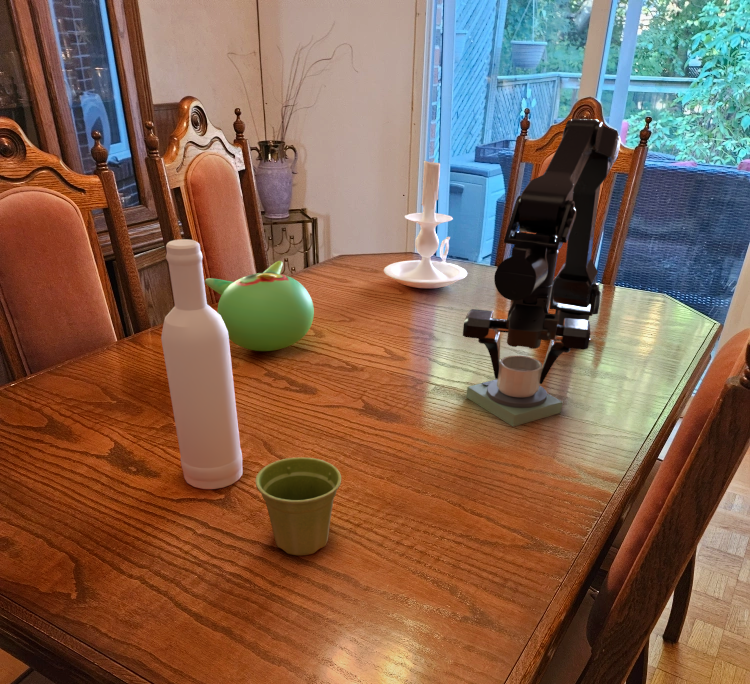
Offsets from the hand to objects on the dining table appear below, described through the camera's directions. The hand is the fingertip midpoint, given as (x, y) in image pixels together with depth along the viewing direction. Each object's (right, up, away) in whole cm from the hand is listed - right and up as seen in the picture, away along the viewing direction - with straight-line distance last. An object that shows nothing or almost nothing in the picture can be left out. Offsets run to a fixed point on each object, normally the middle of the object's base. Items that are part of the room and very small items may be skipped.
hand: (518, 380), depth 107 cm
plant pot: (-32, -24, -28) cm, 49 cm away
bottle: (-45, -16, -17) cm, 50 cm away
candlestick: (-10, +36, +61) cm, 71 cm away
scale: (0, -4, +3) cm, 5 cm away
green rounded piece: (-44, +10, +22) cm, 50 cm away
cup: (0, -1, +1) cm, 2 cm away
